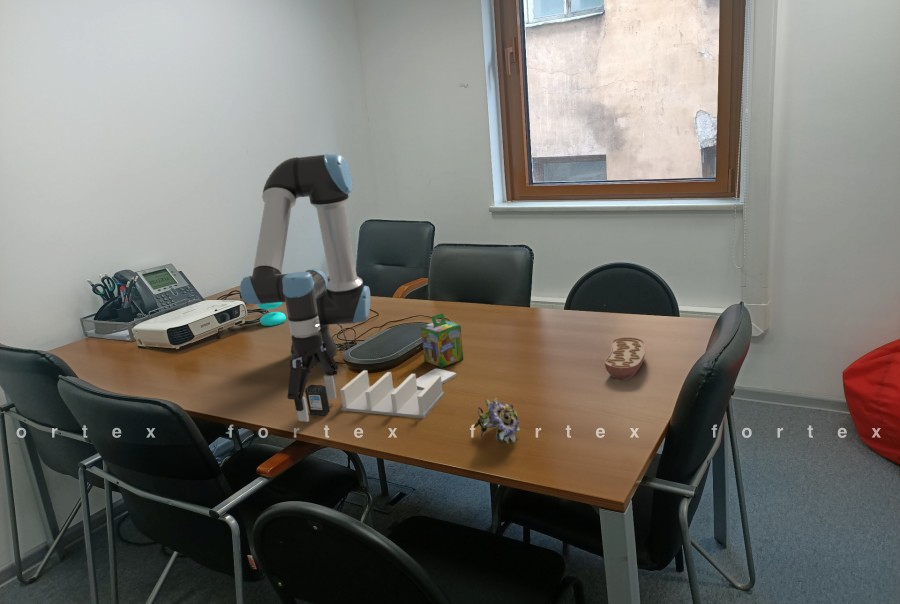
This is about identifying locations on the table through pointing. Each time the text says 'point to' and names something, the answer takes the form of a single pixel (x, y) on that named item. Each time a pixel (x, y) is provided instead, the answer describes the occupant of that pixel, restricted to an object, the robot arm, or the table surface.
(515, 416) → the passion flower
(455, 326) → the chalk box
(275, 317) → the donuts
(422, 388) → the external hard drive
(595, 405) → the table surface
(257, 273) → the robot arm
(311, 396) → the ink cartridge
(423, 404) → the divider rack
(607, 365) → the anatomical model
